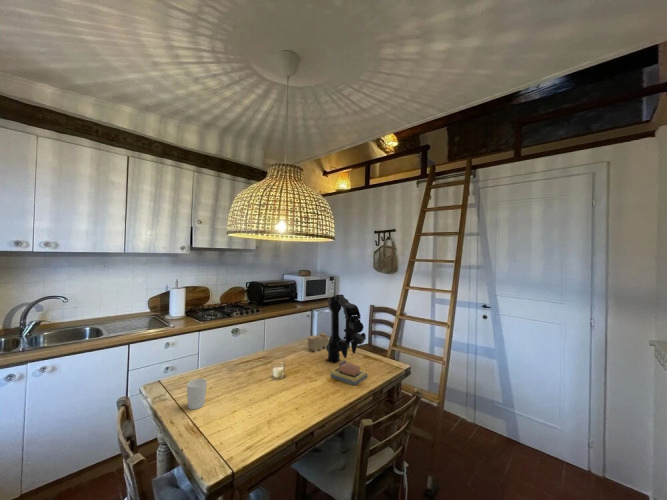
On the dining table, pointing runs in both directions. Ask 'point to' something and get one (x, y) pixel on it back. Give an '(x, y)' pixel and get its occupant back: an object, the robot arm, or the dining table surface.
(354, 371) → the pink panel on base
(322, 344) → the toy train
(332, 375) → the dock
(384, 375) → the dining table surface
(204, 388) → the white cup
